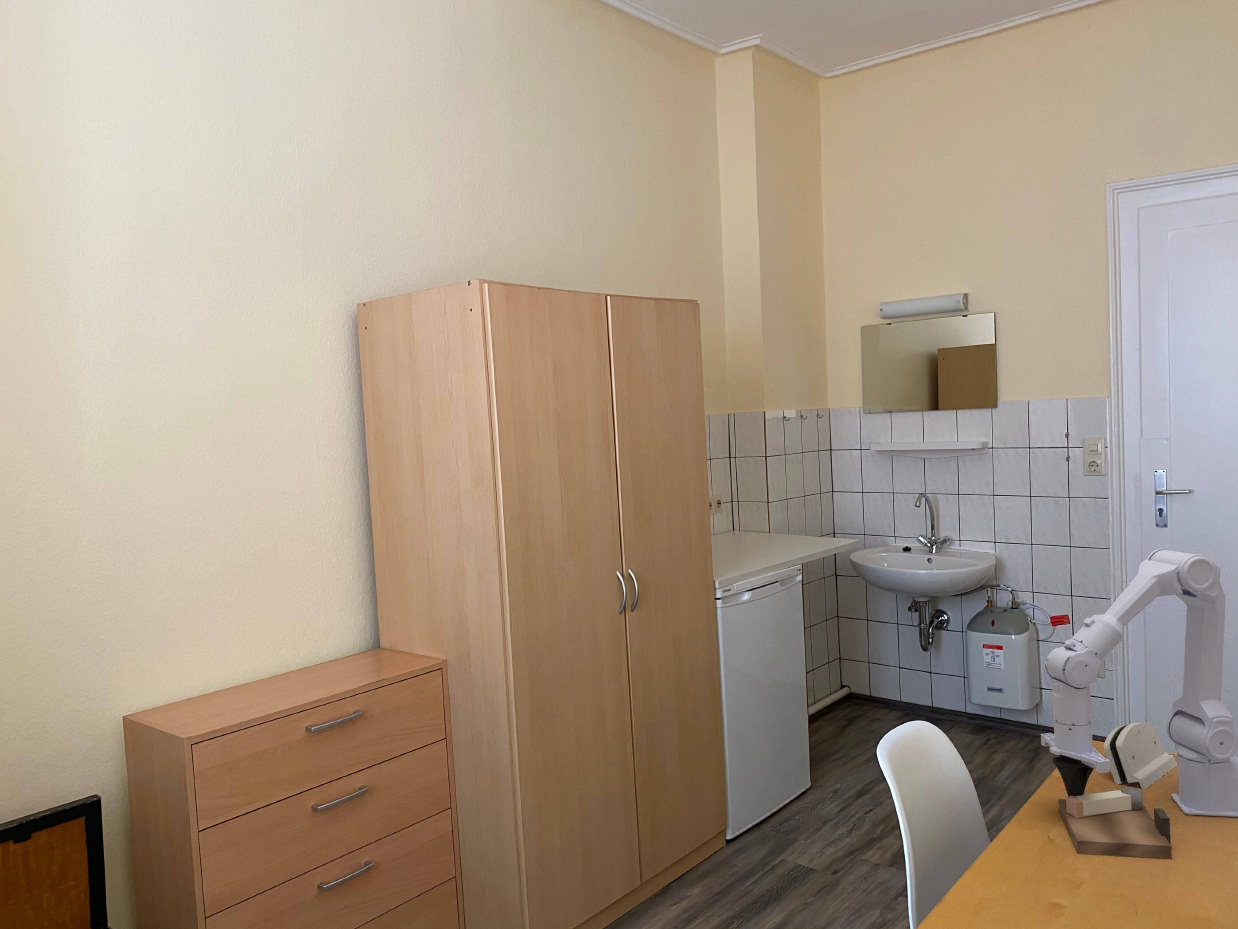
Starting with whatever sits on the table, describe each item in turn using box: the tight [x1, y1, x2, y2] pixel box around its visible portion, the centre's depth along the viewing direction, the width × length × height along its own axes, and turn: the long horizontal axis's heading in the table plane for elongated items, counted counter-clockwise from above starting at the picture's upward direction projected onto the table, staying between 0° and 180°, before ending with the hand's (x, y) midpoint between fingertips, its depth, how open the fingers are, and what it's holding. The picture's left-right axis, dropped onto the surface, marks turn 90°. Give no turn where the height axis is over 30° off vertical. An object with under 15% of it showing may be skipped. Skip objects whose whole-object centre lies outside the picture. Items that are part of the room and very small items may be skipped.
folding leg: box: [1065, 786, 1144, 818], centre depth 154 cm, size 13×3×3 cm, turn 100°
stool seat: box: [1057, 798, 1173, 860], centre depth 150 cm, size 14×16×5 cm
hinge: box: [1103, 721, 1178, 791], centre depth 174 cm, size 17×5×10 cm, turn 130°
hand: (1076, 801), depth 155 cm, fingers closed
